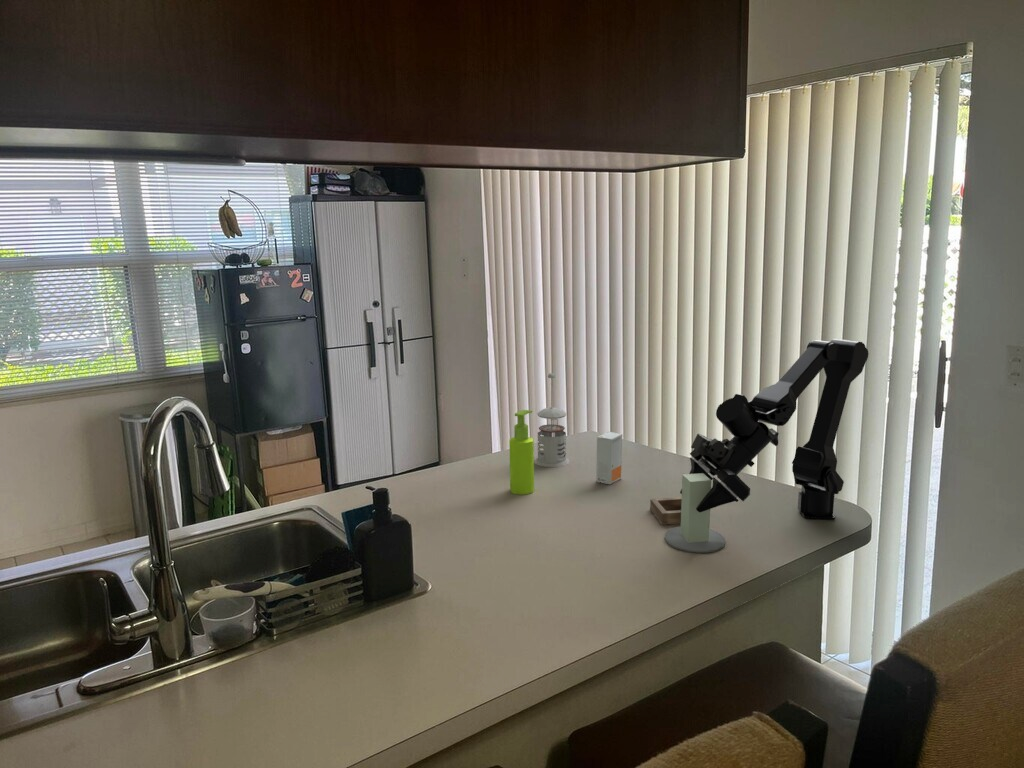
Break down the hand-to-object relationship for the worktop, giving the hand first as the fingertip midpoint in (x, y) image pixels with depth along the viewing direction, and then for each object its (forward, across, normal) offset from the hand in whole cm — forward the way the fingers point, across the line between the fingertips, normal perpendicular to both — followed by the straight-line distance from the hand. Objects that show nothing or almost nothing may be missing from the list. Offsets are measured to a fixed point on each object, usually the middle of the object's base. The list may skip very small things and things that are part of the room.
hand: (689, 502), depth 147 cm
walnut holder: (+5, -13, +7) cm, 16 cm away
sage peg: (+4, 0, +6) cm, 8 cm away
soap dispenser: (+27, -35, -15) cm, 47 cm away
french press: (+19, -57, -7) cm, 61 cm away
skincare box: (+11, -38, +1) cm, 40 cm away
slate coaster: (+5, 0, +7) cm, 8 cm away
